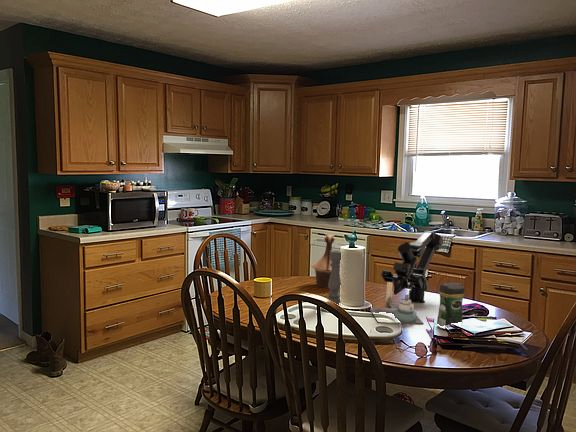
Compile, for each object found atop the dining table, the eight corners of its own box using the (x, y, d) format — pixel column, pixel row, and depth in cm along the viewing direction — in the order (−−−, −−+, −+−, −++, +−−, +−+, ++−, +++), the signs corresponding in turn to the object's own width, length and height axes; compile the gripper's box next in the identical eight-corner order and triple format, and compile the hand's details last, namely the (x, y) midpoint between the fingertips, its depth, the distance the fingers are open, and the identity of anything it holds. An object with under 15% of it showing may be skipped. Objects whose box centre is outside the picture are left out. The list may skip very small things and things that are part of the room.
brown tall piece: (343, 290, 254) (346, 237, 251) (310, 289, 254) (313, 235, 251) (340, 282, 271) (343, 232, 268) (309, 281, 271) (312, 231, 268)
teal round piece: (412, 317, 213) (413, 309, 213) (418, 324, 204) (419, 315, 204) (391, 316, 213) (392, 308, 213) (396, 323, 204) (397, 314, 204)
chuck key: (416, 314, 207) (418, 288, 206) (405, 316, 204) (407, 290, 203) (391, 305, 219) (393, 281, 218) (381, 307, 216) (382, 282, 215)
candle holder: (331, 307, 224) (334, 252, 221) (324, 303, 229) (327, 250, 226) (343, 305, 227) (345, 252, 224) (335, 302, 232) (338, 249, 229)
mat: (410, 310, 223) (411, 309, 223) (423, 324, 204) (423, 322, 204) (369, 309, 223) (369, 307, 223) (377, 322, 204) (377, 321, 204)
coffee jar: (452, 324, 206) (456, 280, 204) (465, 330, 199) (468, 285, 197) (433, 325, 203) (436, 281, 201) (444, 332, 196) (448, 286, 194)
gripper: (384, 252, 229) (370, 279, 221) (422, 259, 217) (409, 287, 210) (390, 267, 236) (378, 294, 228) (428, 274, 224) (416, 302, 216)
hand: (394, 294), depth 220 cm, fingers closed
